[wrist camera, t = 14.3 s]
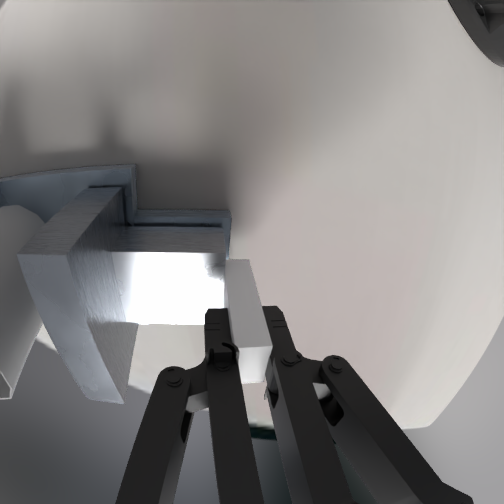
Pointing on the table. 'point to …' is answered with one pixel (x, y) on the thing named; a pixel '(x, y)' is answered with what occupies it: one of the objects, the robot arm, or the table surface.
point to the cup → (15, 296)
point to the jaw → (116, 284)
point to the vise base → (77, 179)
